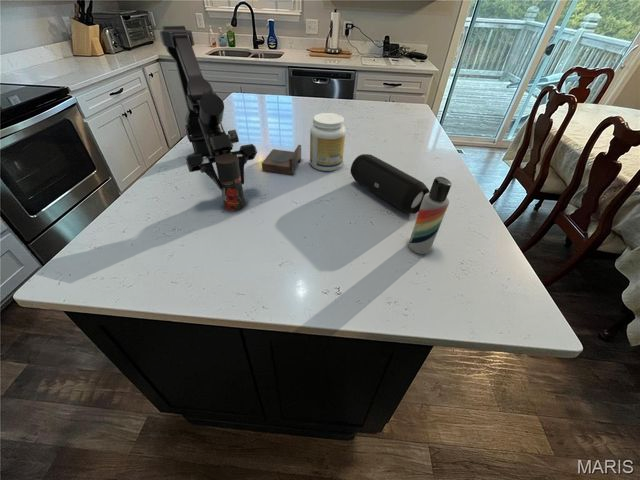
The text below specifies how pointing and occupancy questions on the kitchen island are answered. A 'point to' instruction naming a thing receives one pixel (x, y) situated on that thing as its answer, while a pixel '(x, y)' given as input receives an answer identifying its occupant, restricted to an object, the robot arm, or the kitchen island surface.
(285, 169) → the brown l-shaped stand
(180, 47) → the robot arm
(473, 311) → the kitchen island surface
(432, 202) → the lotion bottle
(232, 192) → the deodorant
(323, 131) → the supplement tub
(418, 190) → the portable speaker
